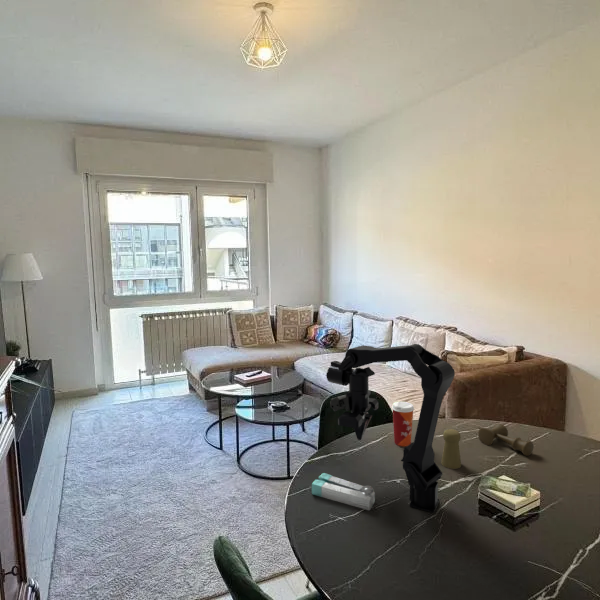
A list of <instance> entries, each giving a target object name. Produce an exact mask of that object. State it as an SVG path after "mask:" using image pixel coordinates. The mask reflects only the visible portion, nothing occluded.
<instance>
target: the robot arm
mask: <svg viewBox="0 0 600 600" xmlns="http://www.w3.org/2000/svg"><path fill="white" fill-rule="evenodd" d="M344 356H345V357H343V360H342V361H341V362H340V361H338V360H333V361H330V365H329V367H328V368H327V371H326V373H325V374H326V380H327V381H328V382H329V383H331V384H336V385H341V386H346V387H347V386H348V390H349V391H348V392H347V393H346V394H344V395H338V396H336V397H332V398H331V399H330V401H329V403H330V404H329V408H330V409H331V410H332V411H333V412H338V411H339V410H344V409H345V412H343V413H342V414H341V415H340V416H339V417H337V425H338V426H341V427H345V428H346V427H347V428H353V430H354V433H355V436H356V439H357V440H358V441H362V440H363V437H364V435H365V432H366V430H367V429H368V425H369V423H370V421H371V419H372V417H373V414H372V413H369V410H370V409H371V408H373V410H374V411H377V410H378V409H379V400H377V398H372V397H370V395H371V394H372V392H371V390H369V384H370V383H369V377H370V378H371V377H372V376H375V375H376V373H375V372H374V370H373V369H372V368H370V366H367V365H370V364H374V363H387V362H389V363H390V362H405V361H406V362H408V363H409V364H410V365H411V367H412V369H413V371H414V373H415V374H417V376H419V377H420V379H421V382H420V383H421V385H420V386H421V389H422V393H423V398H422V401H421V402H422V403H421V405H420V406H421V407H420V413H419V416H418V422H417V426H416V431H415V435H414V440H413V442H411V444H410V445H408V446H404V449H403V452H402V453H403V456H402V458H401V460H400V462H402V469H403V470H404V472H405V475H406V480H407V482H408V485H409V501H410V502H409V507H411V508H413V509H419V510H422V511H426V512H429V513H435V512H436V509H437V507H438V504H439V503H440V499H439V497H438V496H439V494H438V493H439V480H441V478H442V477H443V471H441V469H440V468H439V466H438V464H436V462H435V451H434V448H433V441H434V436H435V433H436V429H437V425H438V420H439V416H440V412H441V411H440V410H441V407H442V402H443V399H444V396H445V395H446V393H448V392H447V391H448V390H449V389H450V387H451V385H452V382H453V380H454V378H455V375H456V374H455V373H456V372H455V369H454V368H453V366H452V365H451V364H450V363H449V362H447V361H444V360H443V359H442V358H441V357H440V356H438V355H436V354H435V353H433V352H431V351H428V350H427V349H426V348H424V346H422V345H421V344H418V343H412V344H409V345H398V346H387V347H385V346H384V347H375V346H373V345H365V344H364V345H359V346H355V347H352V348H348V349H347V350H346V352H345V355H344ZM364 366H367V367H364ZM363 367H364V368H363Z"/></svg>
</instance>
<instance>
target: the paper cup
mask: <svg viewBox="0 0 600 600" xmlns="http://www.w3.org/2000/svg"><path fill="white" fill-rule="evenodd" d="M391 409H392V422H393V425H392V426H393V439H394V440H393V441H394V442H393V443H394V445H396V446H398V447H406V446H408V445H410V444H411V443H412V435H413V432H412V431H413V420H414V411H415V408H414V405H413V404H412V403H410V402H407V401H395V402H394V403H392V406H391Z"/></svg>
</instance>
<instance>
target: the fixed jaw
mask: <svg viewBox="0 0 600 600" xmlns="http://www.w3.org/2000/svg"><path fill="white" fill-rule="evenodd" d="M362 486H363V487H362V492H359V491H355V490H352V489H348V488H344V487H340V486H337V485H333V484H329V483H326V482H324V481H320V480H319V479H317V478H316V479H314V481H313V482H312V483H311V495H313V496H317V497H321V498H325V499H327V500H330V501H335V502H338V503H341V504H345V505H349V506H353V507H354V508H355V507H356V508H359V509H362V510H366V511H370V510H371V509H372V507H373V506H374V504H375V503H376V501H375V500H376V492H375V491H374V487H373V486H371V485H362Z"/></svg>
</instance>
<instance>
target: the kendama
mask: <svg viewBox="0 0 600 600" xmlns="http://www.w3.org/2000/svg"><path fill="white" fill-rule="evenodd" d="M477 428H478V432H477V437H478V439H479V441H480V442H481V443H482V444H483V445H486V446H491V445H492V444H493V443H494V440H495V439H498V440H501V441H503V442H505V443H507V444H508V445H509V446H510V447H512V449H513V450H514V451H519V452H521V453H522V454H523V456H526V457H528V456H530V455H532V453H533V451H534V448H535V447H534V443H533V442H532V440H527V441H525V440H523V439H522V438H521V437H516V438H514V437H510V436H508V435H509V431H508V427H506V426H505V425H504V424H502V423H499V422H498V423H495V424H494V426H493V428H491V429H490V428H488V427H481V426H478V427H477Z"/></svg>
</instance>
